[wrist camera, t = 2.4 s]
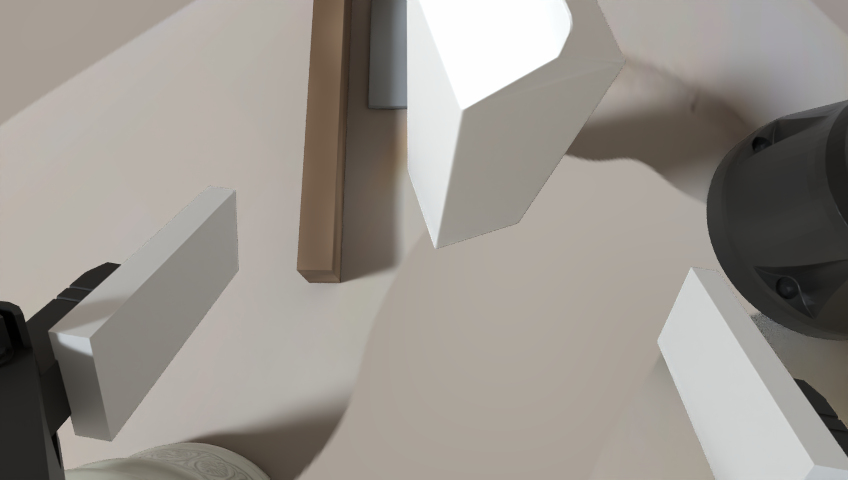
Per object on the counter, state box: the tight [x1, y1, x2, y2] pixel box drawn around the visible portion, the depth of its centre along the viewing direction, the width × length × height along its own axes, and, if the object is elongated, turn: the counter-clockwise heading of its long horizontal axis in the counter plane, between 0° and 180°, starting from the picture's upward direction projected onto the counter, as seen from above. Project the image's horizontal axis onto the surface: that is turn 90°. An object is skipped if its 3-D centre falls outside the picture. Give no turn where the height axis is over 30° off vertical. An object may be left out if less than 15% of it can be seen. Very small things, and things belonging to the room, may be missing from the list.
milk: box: [407, 0, 626, 249], centre depth 26 cm, size 6×6×22 cm
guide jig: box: [297, 0, 407, 283], centre depth 37 cm, size 16×26×4 cm, turn 0°
